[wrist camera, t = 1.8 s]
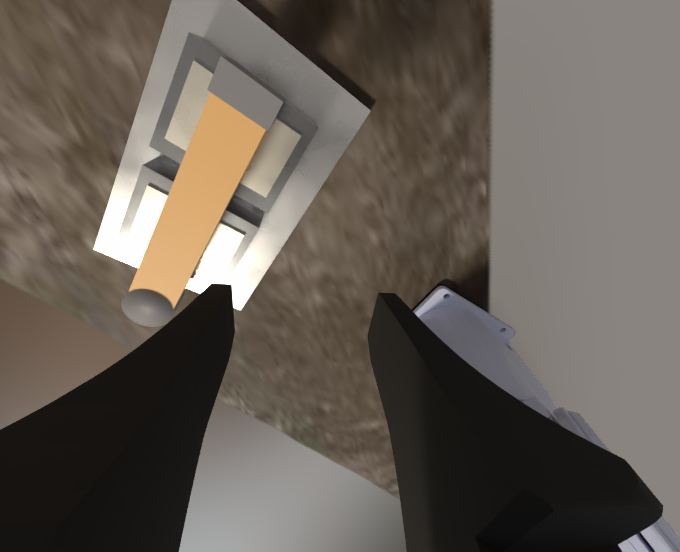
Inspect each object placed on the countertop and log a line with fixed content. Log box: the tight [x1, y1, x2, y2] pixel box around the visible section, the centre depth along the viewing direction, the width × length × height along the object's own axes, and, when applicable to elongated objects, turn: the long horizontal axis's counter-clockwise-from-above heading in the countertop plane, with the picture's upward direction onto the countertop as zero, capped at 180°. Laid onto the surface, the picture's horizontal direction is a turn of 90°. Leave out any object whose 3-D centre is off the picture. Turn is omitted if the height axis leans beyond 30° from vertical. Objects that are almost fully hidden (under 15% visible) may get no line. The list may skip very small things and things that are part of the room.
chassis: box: [93, 0, 371, 311], centre depth 16 cm, size 10×16×3 cm, turn 145°
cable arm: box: [121, 56, 286, 327], centre depth 14 cm, size 13×2×2 cm, turn 145°
